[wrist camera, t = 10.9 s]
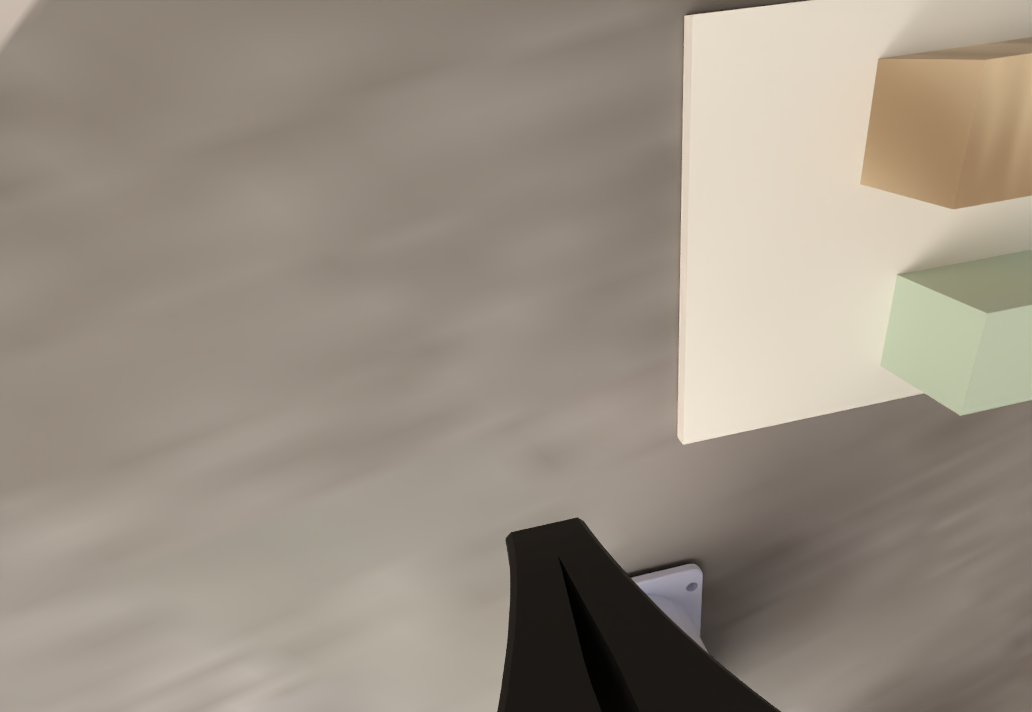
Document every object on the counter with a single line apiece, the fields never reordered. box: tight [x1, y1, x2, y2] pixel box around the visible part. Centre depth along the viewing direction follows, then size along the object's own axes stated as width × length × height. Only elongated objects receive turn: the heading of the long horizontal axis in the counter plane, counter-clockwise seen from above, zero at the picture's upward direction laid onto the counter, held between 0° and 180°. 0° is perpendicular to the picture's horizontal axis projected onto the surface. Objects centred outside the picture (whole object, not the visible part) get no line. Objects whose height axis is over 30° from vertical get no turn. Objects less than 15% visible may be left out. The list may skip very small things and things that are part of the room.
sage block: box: [880, 249, 1032, 416], centre depth 21 cm, size 4×4×7 cm
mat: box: [677, 0, 1032, 444], centre depth 21 cm, size 14×17×1 cm
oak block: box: [860, 37, 1032, 209], centre depth 17 cm, size 4×4×7 cm
